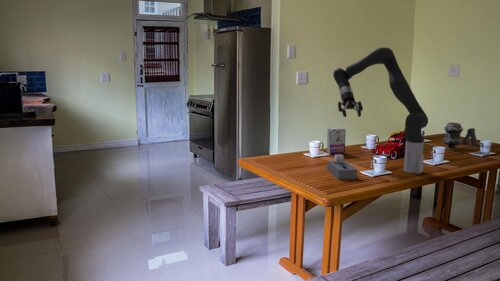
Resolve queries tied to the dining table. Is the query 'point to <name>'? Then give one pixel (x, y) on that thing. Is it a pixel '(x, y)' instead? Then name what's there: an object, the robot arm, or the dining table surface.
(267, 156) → the dining table surface
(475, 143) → the dark grey arch
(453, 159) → the dining table surface
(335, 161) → the gray rectangular block
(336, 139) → the candy bar box
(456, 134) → the dark grey tall lump
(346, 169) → the bore block
